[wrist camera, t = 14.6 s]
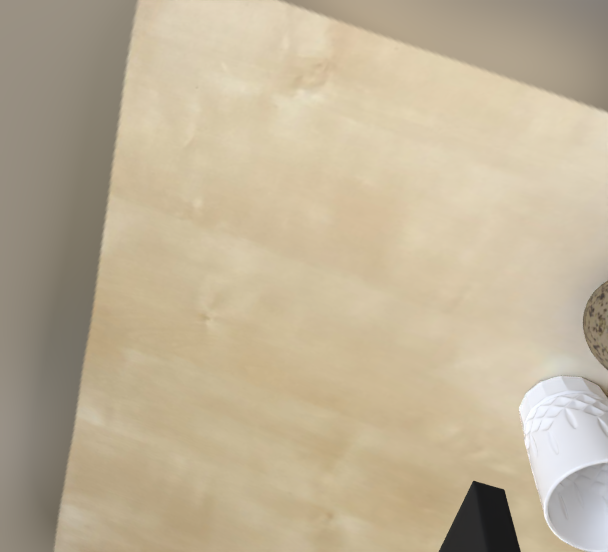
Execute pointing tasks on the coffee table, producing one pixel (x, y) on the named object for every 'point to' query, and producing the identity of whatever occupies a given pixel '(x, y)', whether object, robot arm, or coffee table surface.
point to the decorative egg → (597, 324)
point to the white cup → (570, 457)
